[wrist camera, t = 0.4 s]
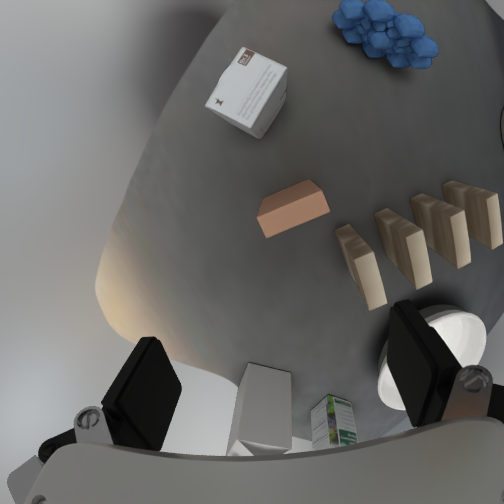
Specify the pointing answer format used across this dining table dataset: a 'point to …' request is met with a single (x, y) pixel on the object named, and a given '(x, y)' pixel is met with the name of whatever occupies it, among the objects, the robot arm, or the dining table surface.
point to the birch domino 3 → (443, 228)
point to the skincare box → (250, 92)
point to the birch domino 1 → (362, 266)
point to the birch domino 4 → (477, 211)
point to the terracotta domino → (291, 207)
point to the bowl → (454, 335)
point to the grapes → (386, 33)
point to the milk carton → (262, 413)
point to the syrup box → (333, 424)
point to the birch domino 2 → (405, 246)
